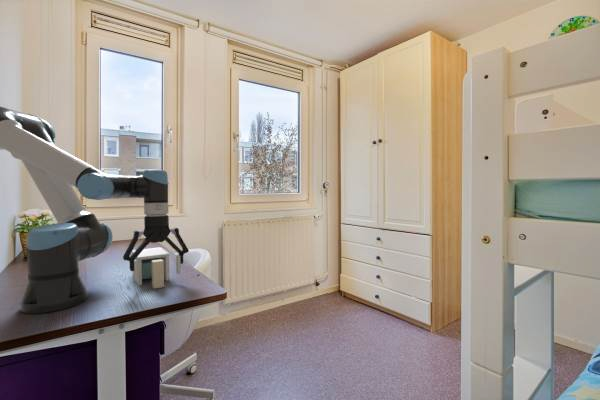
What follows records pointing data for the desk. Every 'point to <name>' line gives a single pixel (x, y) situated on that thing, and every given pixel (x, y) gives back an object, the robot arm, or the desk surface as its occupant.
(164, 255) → the white open box
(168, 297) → the desk surface
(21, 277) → the desk surface
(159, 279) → the tethered block
